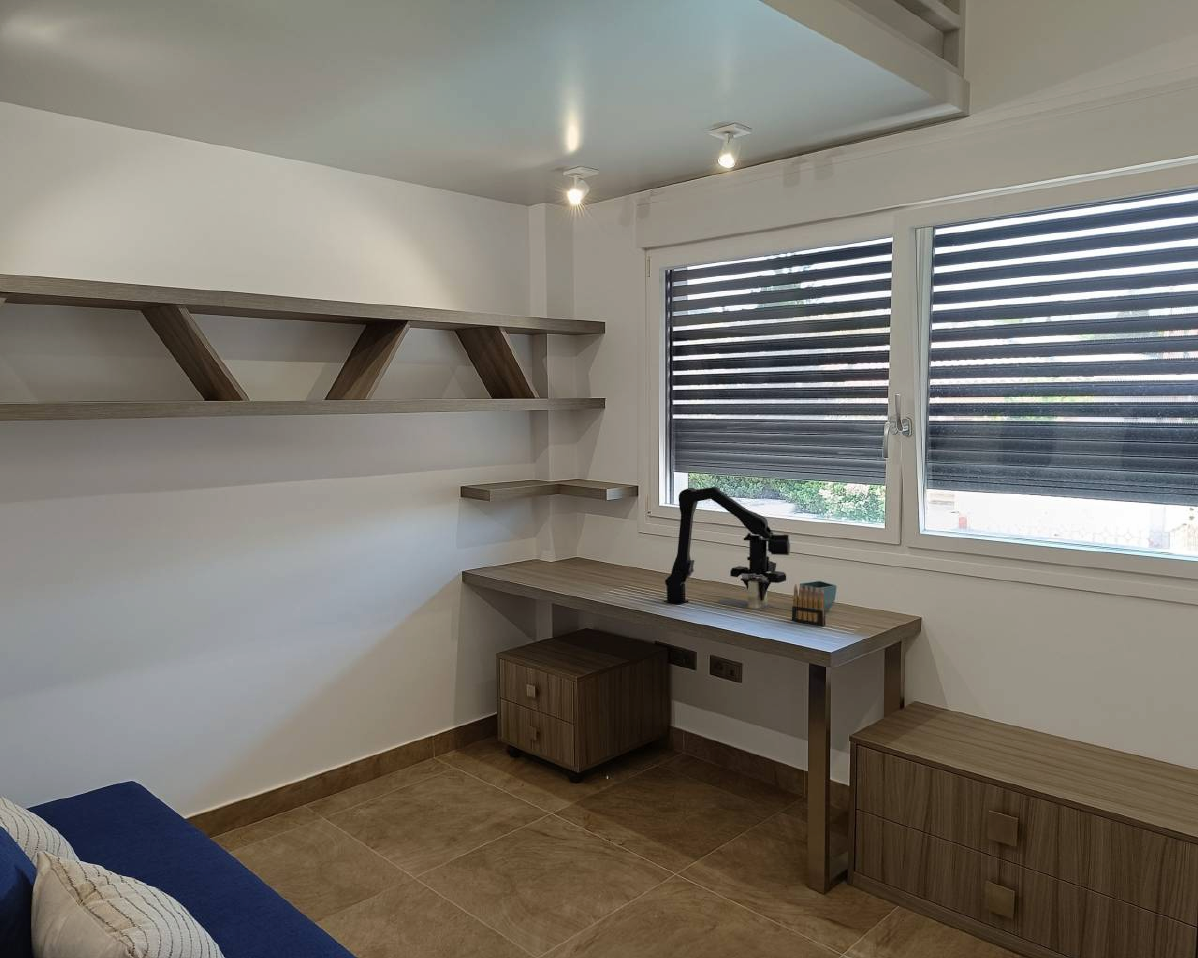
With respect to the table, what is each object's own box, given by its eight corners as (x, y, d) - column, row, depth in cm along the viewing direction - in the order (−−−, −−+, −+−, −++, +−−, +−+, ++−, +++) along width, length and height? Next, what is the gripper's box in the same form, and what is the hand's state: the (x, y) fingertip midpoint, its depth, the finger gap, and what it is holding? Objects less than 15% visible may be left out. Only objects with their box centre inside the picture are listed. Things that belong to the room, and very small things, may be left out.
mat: (761, 611, 303) (761, 610, 303) (716, 603, 315) (716, 602, 315) (774, 606, 309) (774, 605, 309) (729, 599, 321) (729, 598, 321)
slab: (755, 608, 305) (756, 581, 304) (748, 607, 307) (748, 580, 306) (767, 604, 310) (767, 578, 309) (759, 603, 312) (759, 577, 311)
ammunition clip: (791, 621, 288) (791, 584, 287) (794, 620, 290) (794, 583, 289) (822, 626, 282) (823, 588, 281) (825, 625, 283) (826, 587, 282)
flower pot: (816, 615, 296) (816, 588, 296) (798, 609, 304) (798, 583, 303) (837, 612, 300) (837, 585, 300) (819, 606, 308) (819, 580, 307)
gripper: (795, 553, 307) (794, 599, 308) (747, 547, 319) (747, 592, 320) (777, 558, 298) (777, 605, 300) (729, 552, 311) (729, 597, 312)
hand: (757, 599), depth 308 cm, fingers closed on slab, 3 cm apart
